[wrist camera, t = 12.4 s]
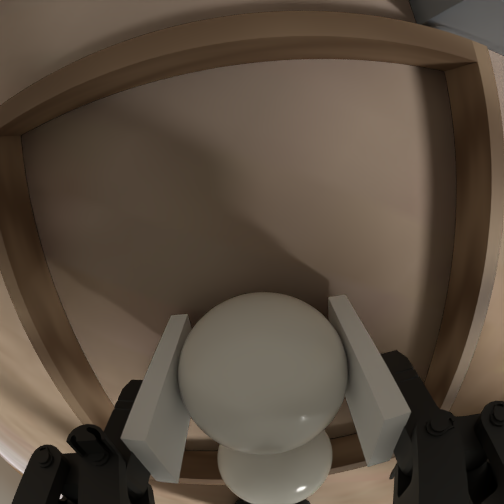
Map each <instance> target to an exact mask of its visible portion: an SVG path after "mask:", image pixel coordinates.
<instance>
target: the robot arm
mask: <svg viewBox="0 0 504 504" xmlns="http://www.w3.org/2000/svg"><path fill="white" fill-rule="evenodd" d="M328 321H329V322H330V323H331V324H332V326H333V327H334V329H335V330H336V332H337V333H338V335H339V337H340V339H341V341H342V344H343V346H344V349H345V352H346V357H347V362H348V383H347V389H346V393H345V398H346V401H347V404H348V407H349V410H350V413H351V416H352V419H353V422H354V425H355V428H356V431H357V434H358V438H359V441H360V444H361V447H362V450H363V454H364V457H365V460H366V463H367V467H369V466H373V465H376V464H380V463H383V462H386V461H389V460H390V459H391V457H392V455H393V453H394V455H395V457H396V460H397V464H396V465H395V467H394V469H393V471H392V472H391V475H390V478H389V479H393V477H394V496H393V504H504V402H503V401H494V402H490V403H489V404H487V405H486V406H485V407H484V409H483V411H482V412H481V414H475V415H469V416H461V417H455V416H454V415H453V414H452V413H451V412H449V411H446V410H443V409H439V407H438V406H437V405H436V403H435V401H434V400H433V398H432V396H431V395H430V393H429V392H428V390H427V388H426V387H425V385H424V383H423V382H422V380H421V379H420V377H418V374H417V372H416V371H415V369H413V366H412V364H411V363H410V361H409V360H408V358H407V357H406V356H404V355H403V354H401V353H400V352H398V351H397V350H395V351H391V352H387V353H383V354H380V353H379V351H378V349H377V347H376V346H375V344H374V342H373V340H372V339H371V337H370V335H369V334H368V332H367V330H366V328H365V327H364V325H363V323H362V322H361V320H360V318H359V317H358V315H357V313H356V311H355V310H354V308H353V306H352V305H351V303H350V302H349V300H348V298H347V297H346V295H345V294H344V295H338V296H332V297H328ZM191 330H192V327H191V324H190V320H189V317H188V314H181V315H171V317H170V319H169V321H168V324H167V326H166V328H165V330H164V333H163V335H162V337H161V340H160V342H159V344H158V346H157V349H156V351H155V353H154V356H153V358H152V360H151V363H150V365H149V367H148V370H147V372H146V375H145V377H144V379H143V380H131V381H130V382H129V383H128V384H127V385H126V386H125V387H124V388H123V389H122V391H121V394H120V396H119V398H118V401H117V402H116V405H115V407H114V408H115V409H113V411H112V413H111V416H110V418H109V420H108V423H107V425H106V427H105V429H104V432H103V430H102V429H101V428H100V427H98V426H96V425H94V424H85V425H81V426H79V427H77V428H75V429H74V430H73V431H72V432H71V433H70V434H69V436H68V438H67V441H66V442H67V443H68V444H69V445H70V446H71V447H72V448H73V449H74V450H75V452H76V453H67V454H62V453H61V452H60V451H59V450H58V449H57V448H56V447H55V446H53V445H43V446H40V447H39V448H37V449H36V450H35V451H34V453H33V454H32V456H31V458H30V460H29V463H28V465H27V467H26V469H25V472H24V474H23V476H22V479H21V481H20V484H19V486H18V489H17V492H16V494H15V496H14V499H13V502H12V504H155V502H154V495H153V490H152V487H151V485H150V484H149V483H148V482H149V478H150V474H151V475H152V477H153V478H154V479H155V480H156V481H159V482H168V483H178V482H179V476H180V470H181V465H182V459H183V454H184V449H185V443H186V438H187V433H188V428H189V422H190V417H191V416H190V415H189V413H188V411H187V409H186V407H185V405H184V403H183V400H182V397H181V394H180V389H179V382H178V365H179V359H180V355H181V351H182V348H183V346H184V343H185V341H186V339H187V337H188V335H189V333H190V332H191ZM61 494H62V495H63V497H62V499H59V498H60V495H61Z"/></svg>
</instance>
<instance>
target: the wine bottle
mask: <svg viewBox="0 0 504 504" xmlns="http://www.w3.org/2000/svg"><path fill="white" fill-rule="evenodd" d="M235 504H251V503H249V502H247V501H245V500H243V499H242V500H239V501H237V502H236V503H235ZM295 504H310V502H309V501H307V500H306V499H304V500H302V501H300V502H298V503H295Z"/></svg>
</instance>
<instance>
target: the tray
mask: <svg viewBox="0 0 504 504" xmlns="http://www.w3.org/2000/svg"><path fill="white" fill-rule="evenodd" d="M292 59H353V60H369V61H381V62H390V63H399V64H406V65H413V66H419V67H425V68H430V69H435V70H440V71H445V76H446V81H447V86H448V92H449V98H450V105H451V112H452V119H453V128H454V139H455V153H456V180H457V196H456V224H455V238H454V249H453V258H452V266H451V273H450V280H449V287H448V292H447V298H446V303H445V308H444V313H443V318H442V322H441V327H440V331H439V335H438V339H437V343H436V347H435V350H434V354H433V357H432V361H431V364H430V368H429V371H428V374H427V377H426V380H425V383H424V385H425V387H426V388H427V390H428V392H429V393H430V395H431V396H432V398H433V400H434V401H435V403H436V405H437V406H438V407H439V409H443V410H446V411H449V410H450V408H451V406H452V404H453V402H454V400H455V398H456V396H457V394H458V391H459V389H460V387H461V385H462V382H463V380H464V378H465V375H466V373H467V370H468V368H469V365H470V363H471V360H472V357H473V355H474V352H475V349H476V346H477V343H478V340H479V337H480V334H481V331H482V328H483V324H484V321H485V317H486V314H487V310H488V306H489V302H490V298H491V294H492V290H493V285H494V280H495V275H496V270H497V264H498V258H499V252H500V245H501V237H502V228H503V216H504V138H503V127H502V118H501V110H500V103H499V97H498V91H497V86H496V81H495V76H494V72H493V67H492V63H491V59H490V56H489V52H488V48H487V46H485V45H483V44H480V43H478V42H475V41H473V40H470V39H467V38H464V37H461V36H458V35H455V34H452V33H449V32H446V31H442V30H439V29H436V28H432V27H428V26H424V25H420V24H416V23H411V22H407V21H402V20H397V19H392V18H386V17H379V16H373V15H365V14H356V13H346V12H332V11H272V12H258V13H247V14H238V15H230V16H223V17H217V18H211V19H205V20H200V21H195V22H190V23H186V24H181V25H177V26H173V27H169V28H165V29H162V30H158V31H154V32H151V33H148V34H144V35H141V36H138V37H135V38H132V39H129V40H126V41H123V42H121V43H118V44H115V45H113V46H110V47H107V48H105V49H102V50H100V51H97V52H95V53H93V54H90V55H88V56H86V57H84V58H81V59H79V60H77V61H75V62H73V63H71V64H69V65H67V66H65V67H63V68H61V69H59V70H57V71H55V72H53V73H51V74H50V75H48V76H46V77H44V78H42V79H41V80H39V81H37V82H36V83H34V84H32V85H31V86H29V87H27V88H26V89H24V90H22V91H21V92H19V93H18V94H16V95H15V96H13V97H12V98H10V99H9V100H7V101H6V102H4V103H3V104H2V105H0V271H1V274H2V276H3V279H4V282H5V285H6V287H7V290H8V293H9V295H10V298H11V300H12V303H13V305H14V307H15V310H16V312H17V314H18V317H19V319H20V321H21V323H22V325H23V327H24V330H25V332H26V334H27V336H28V338H29V340H30V342H31V344H32V346H33V347H34V349H35V351H36V353H37V355H38V357H39V359H40V360H41V362H42V364H43V366H44V367H45V369H46V371H47V372H48V374H49V376H50V377H51V379H52V381H53V382H54V384H55V385H56V387H57V389H58V390H59V392H60V393H61V395H62V396H63V398H64V399H65V401H66V402H67V403H68V405H69V406H70V408H71V409H72V411H73V412H74V413H75V415H76V416H77V417H78V419H79V420H80V421H81V423H82V424H83V425H85V424H94V425H96V426H98V427H100V428H101V429H102V430H103V432H104V429H105V427H106V425H107V423H108V420H109V418H110V416H111V413H112V411H113V409H115V408H114V406H113V405H112V403H111V401H110V400H109V398H108V397H107V395H106V393H105V392H104V390H103V388H102V387H101V385H100V383H99V381H98V380H97V378H96V376H95V374H94V372H93V371H92V369H91V367H90V365H89V363H88V361H87V359H86V357H85V355H84V353H83V351H82V349H81V347H80V345H79V343H78V341H77V339H76V337H75V335H74V333H73V330H72V328H71V326H70V324H69V321H68V319H67V317H66V314H65V312H64V310H63V307H62V305H61V302H60V300H59V297H58V294H57V292H56V289H55V286H54V284H53V281H52V278H51V275H50V272H49V269H48V266H47V263H46V260H45V257H44V253H43V250H42V247H41V243H40V239H39V236H38V232H37V228H36V224H35V220H34V216H33V211H32V207H31V202H30V197H29V192H28V186H27V181H26V174H25V168H24V160H23V152H22V143H21V135H22V134H24V133H26V132H28V131H30V130H32V129H34V128H35V127H37V126H39V125H41V124H43V123H45V122H47V121H49V120H51V119H54V118H56V117H58V116H60V115H62V114H64V113H67V112H69V111H71V110H73V109H76V108H78V107H81V106H83V105H85V104H88V103H90V102H93V101H96V100H98V99H101V98H104V97H106V96H109V95H112V94H115V93H118V92H121V91H124V90H127V89H130V88H133V87H136V86H140V85H143V84H147V83H150V82H154V81H157V80H161V79H165V78H169V77H173V76H178V75H182V74H186V73H191V72H196V71H201V70H206V69H212V68H218V67H224V66H230V65H238V64H245V63H254V62H264V61H276V60H292ZM330 442H331V446H332V464H331V468H330V471H329V474H328V475H330V474H335V473H340V472H344V471H349V470H353V469H357V468H361V467H365V466H367V463H366V460H365V457H364V454H363V450H362V447H361V444H360V441H359V438H358V434H353V435H348V436H344V437H339V438H335V439H330ZM217 454H218V451H184V454H183V459H182V465H181V470H180V476H179V482H178V483H184V484H202V485H226V484H225V482H224V481H223V479H222V477H221V474H220V472H219V468H218V461H217ZM392 458H395V455H394V453H393V455H392V457H391V459H392ZM149 480H155V479H154V478H153V477H152V475H151V474H150V478H149ZM155 481H156V480H155Z"/></svg>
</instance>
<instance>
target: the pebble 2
mask: <svg viewBox="0 0 504 504" xmlns="http://www.w3.org/2000/svg"><path fill="white" fill-rule="evenodd" d="M217 461H218V468H219V472H220V474H221V477H222V479H223V481H224V482H225V484H226V485H227V486H228V488H229V489H230V490H231V491H232V492H233V493H234V494H235V495H237V496H238V497H240V498H241V499H243V500H245V501H247V502H249V503H251V504H295V503H298V502H300V501H302V500H304V499H306V498H308V497H309V496H311V495H312V494H313V493H314V492H315V491H317V490H318V489H319V488H320V486H321V485H322V484H323V483H324V481H325V479H326V478H327V476H328V474H329V471H330V468H331V464H332V446H331V442H330V439H329V437H328V435H327V433H326V431H325V430H323V431H322V432H321V433H320V434H319V435H317V436H316V437H315V438H313V439H312V440H311V441H309V442H308V443H306V444H304V445H302V446H300V447H298V448H295V449H292V450H290V451H286V452H283V453H278V454H271V455H255V454H247V453H243V452H239V451H235V450H232V449H230V448H227V447H225V446H223V445H221V444H220V445H219V448H218V454H217Z"/></svg>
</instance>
